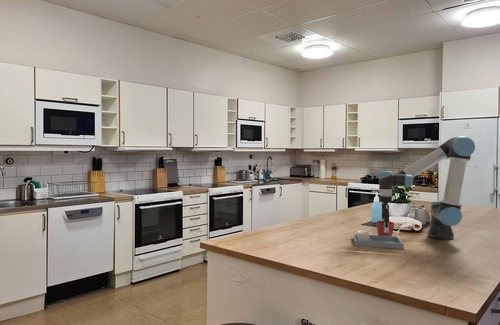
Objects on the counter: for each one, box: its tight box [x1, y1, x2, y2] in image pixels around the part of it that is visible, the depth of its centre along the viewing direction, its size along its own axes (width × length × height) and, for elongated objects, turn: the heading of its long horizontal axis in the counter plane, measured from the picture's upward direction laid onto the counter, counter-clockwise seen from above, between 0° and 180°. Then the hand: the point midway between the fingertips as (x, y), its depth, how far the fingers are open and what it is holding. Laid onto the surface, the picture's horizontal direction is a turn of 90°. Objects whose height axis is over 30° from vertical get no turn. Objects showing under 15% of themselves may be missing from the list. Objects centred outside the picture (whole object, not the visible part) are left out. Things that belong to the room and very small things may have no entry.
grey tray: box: [353, 233, 404, 251], centre depth 216 cm, size 18×26×4 cm
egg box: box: [356, 229, 370, 241], centre depth 217 cm, size 10×6×6 cm, turn 166°
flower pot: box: [376, 220, 395, 236], centre depth 230 cm, size 11×11×10 cm
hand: (385, 230), depth 230 cm, fingers closed on flower pot, 11 cm apart
